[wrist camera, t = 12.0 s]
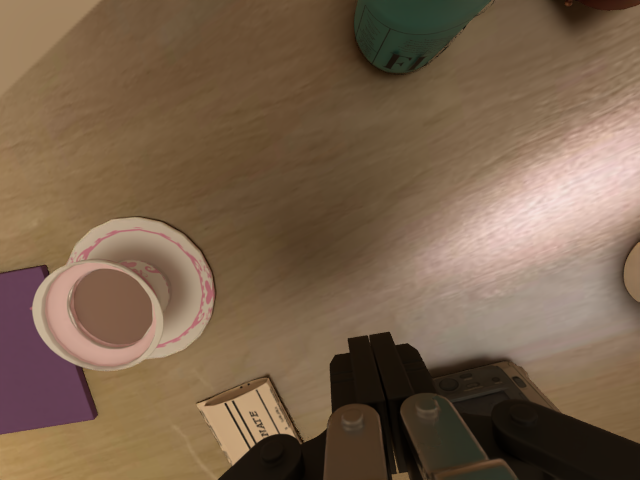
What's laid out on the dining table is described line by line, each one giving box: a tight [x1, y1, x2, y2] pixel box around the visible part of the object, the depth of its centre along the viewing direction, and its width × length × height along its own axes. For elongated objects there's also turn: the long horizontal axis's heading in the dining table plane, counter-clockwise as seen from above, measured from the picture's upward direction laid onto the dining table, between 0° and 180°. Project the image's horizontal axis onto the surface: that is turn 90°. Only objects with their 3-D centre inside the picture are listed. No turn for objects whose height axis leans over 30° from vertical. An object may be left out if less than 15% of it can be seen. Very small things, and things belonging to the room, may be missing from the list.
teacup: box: [30, 217, 215, 371], centre depth 26 cm, size 12×12×6 cm
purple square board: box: [0, 265, 98, 434], centre depth 30 cm, size 14×12×1 cm
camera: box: [433, 361, 561, 416], centre depth 26 cm, size 11×6×10 cm, turn 103°
